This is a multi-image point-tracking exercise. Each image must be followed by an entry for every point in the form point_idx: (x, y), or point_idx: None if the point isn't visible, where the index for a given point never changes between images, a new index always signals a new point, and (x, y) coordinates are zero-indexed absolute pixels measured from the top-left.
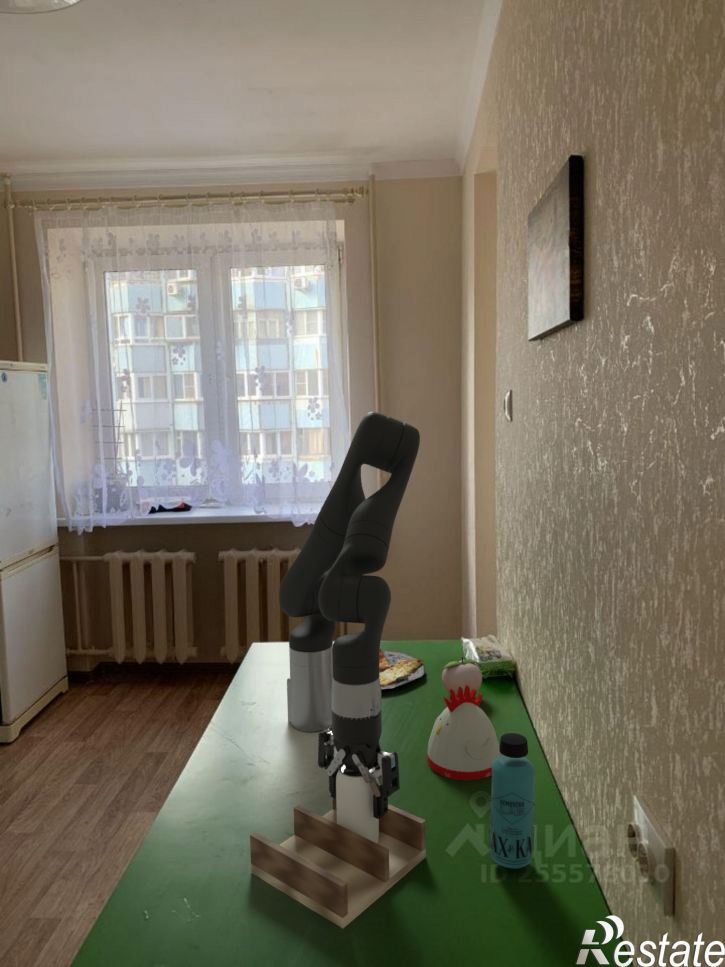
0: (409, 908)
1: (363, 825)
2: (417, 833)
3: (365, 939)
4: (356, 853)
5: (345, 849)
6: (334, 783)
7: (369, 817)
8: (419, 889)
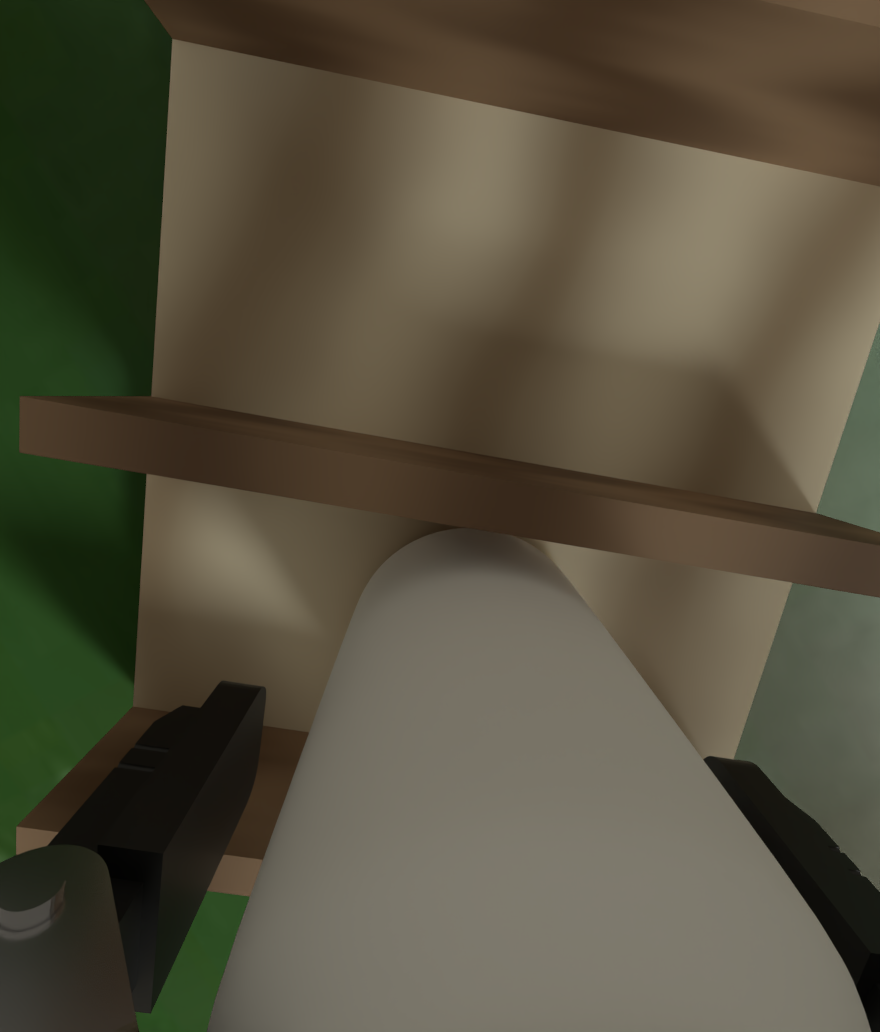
0: (16, 352)
1: (362, 622)
2: (109, 769)
3: (62, 23)
4: (338, 438)
5: (433, 454)
6: (803, 885)
7: (325, 688)
8: (54, 497)
